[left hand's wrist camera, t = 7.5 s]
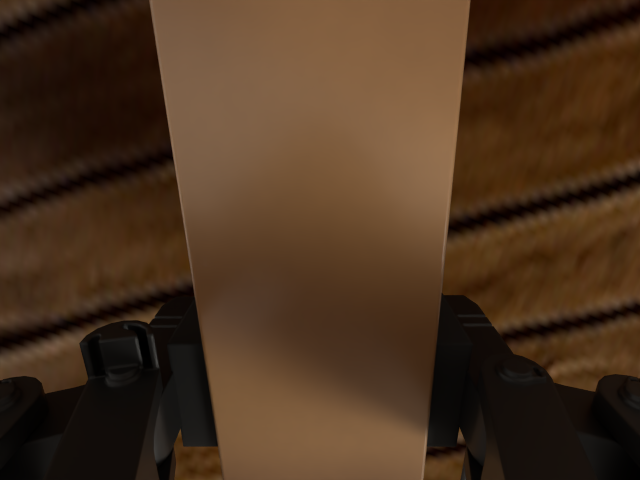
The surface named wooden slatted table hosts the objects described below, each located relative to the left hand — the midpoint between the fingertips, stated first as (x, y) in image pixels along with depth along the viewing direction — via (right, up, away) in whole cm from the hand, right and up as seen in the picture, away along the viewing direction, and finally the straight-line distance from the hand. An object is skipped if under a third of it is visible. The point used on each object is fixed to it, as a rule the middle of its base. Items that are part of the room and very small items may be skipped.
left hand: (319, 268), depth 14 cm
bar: (0, +19, -6) cm, 20 cm away
